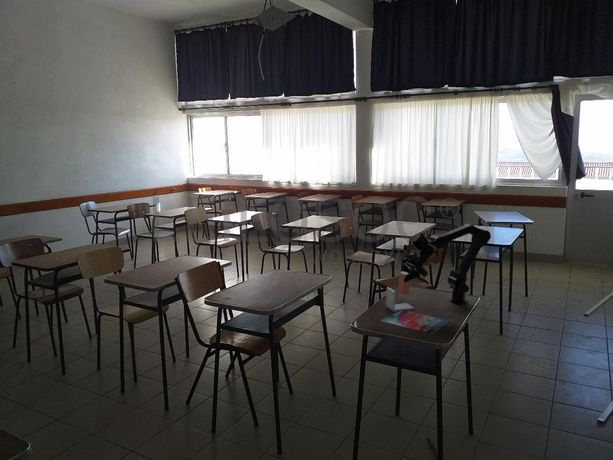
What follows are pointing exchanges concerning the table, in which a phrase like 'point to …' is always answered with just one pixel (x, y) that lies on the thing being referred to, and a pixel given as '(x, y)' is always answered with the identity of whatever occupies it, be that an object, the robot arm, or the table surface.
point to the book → (403, 283)
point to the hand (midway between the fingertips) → (401, 280)
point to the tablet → (416, 321)
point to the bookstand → (391, 302)
